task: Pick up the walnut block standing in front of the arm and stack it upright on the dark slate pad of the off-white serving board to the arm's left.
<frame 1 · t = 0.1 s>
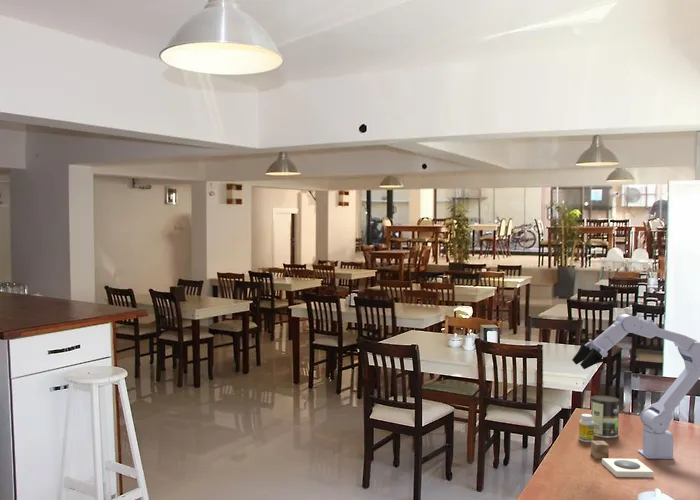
hand: (578, 364, 229), 32 cm above the table, tool tilted 50°, fingers open, 7 cm apart
walnut block: (599, 456, 229), on the table
base board: (626, 470, 216), on the table
supplement bottle: (586, 440, 247), on the table
coffee can: (604, 434, 255), on the table
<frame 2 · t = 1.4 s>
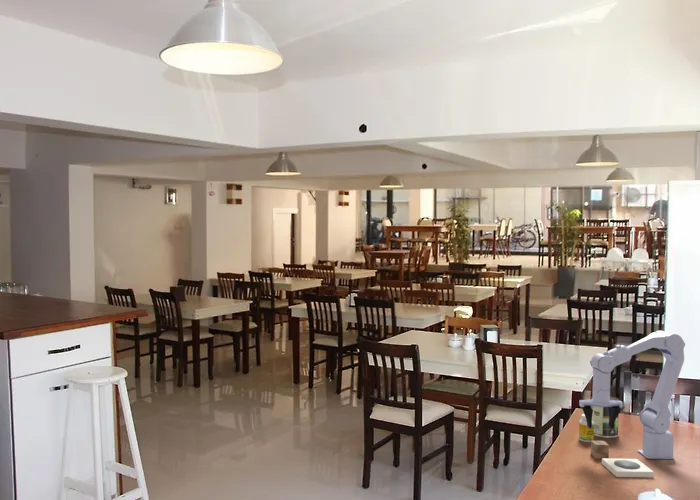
hand: (600, 427, 228), 10 cm above the table, tool pointing down, fingers open, 7 cm apart
nothing on the table moved.
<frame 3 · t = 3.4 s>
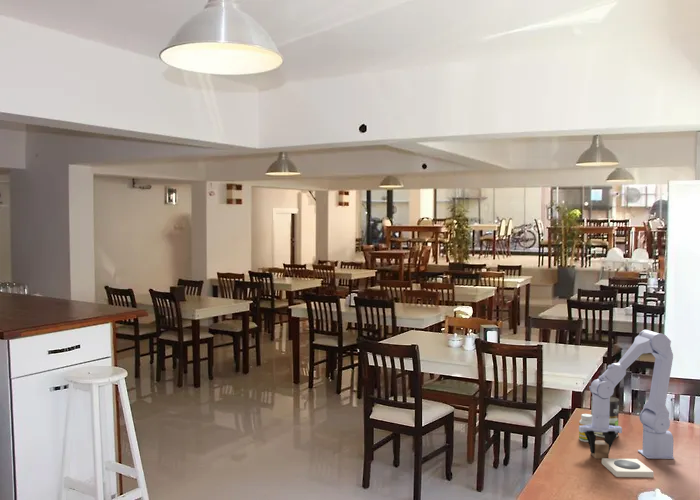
hand: (599, 452, 228), 1 cm above the table, tool pointing down, fingers closed on walnut block, 4 cm apart
walnut block: (599, 456, 228), on the table, touching gripper
everything else where it was.
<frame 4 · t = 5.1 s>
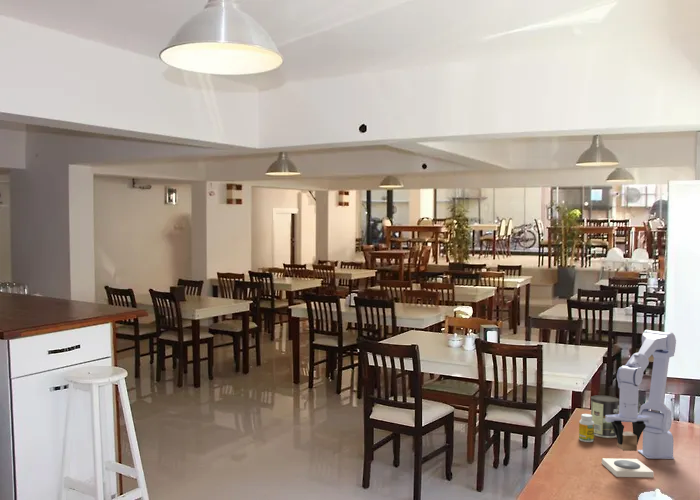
hand: (627, 443, 215), 9 cm above the table, tool pointing down, fingers closed on walnut block, 4 cm apart
walnut block: (626, 448, 216), point 7 cm above the table, touching gripper
everything else where it was.
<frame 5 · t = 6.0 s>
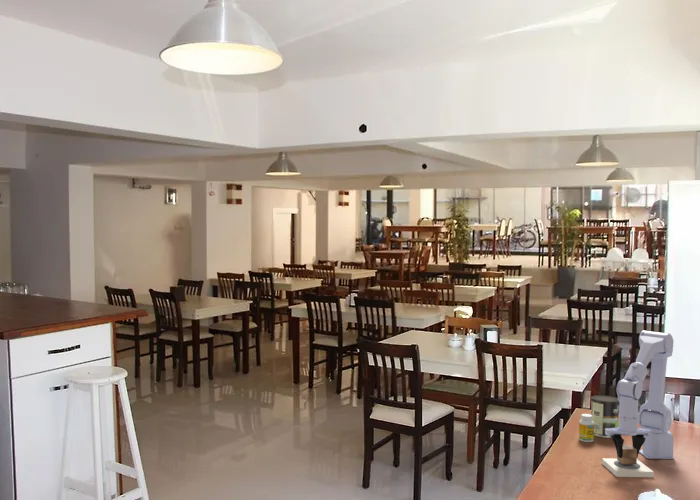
hand: (627, 457, 215), 4 cm above the table, tool pointing down, fingers closed on walnut block, 4 cm apart
walnut block: (626, 462, 216), point 3 cm above the table, touching gripper
everything else where it was.
when the fingers open (4 cm above the table, at t = 6.8 s): walnut block stays where it is, resting on base board.
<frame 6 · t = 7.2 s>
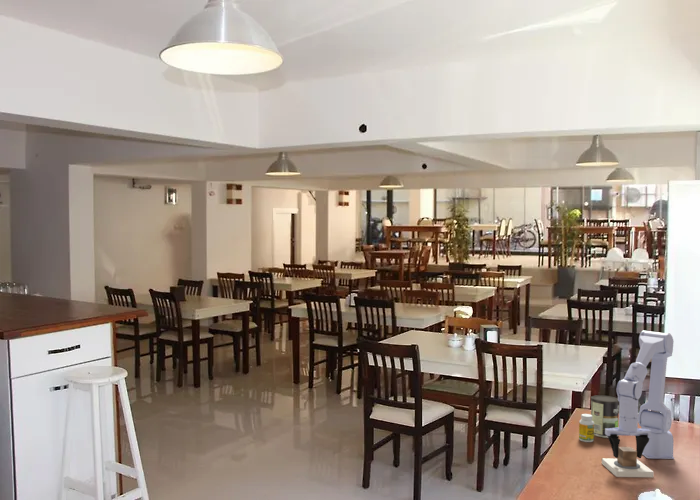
hand: (627, 457, 215), 4 cm above the table, tool pointing down, fingers open, 7 cm apart
walnut block: (626, 464, 216), point 2 cm above the table, touching base board
everything else where it was.
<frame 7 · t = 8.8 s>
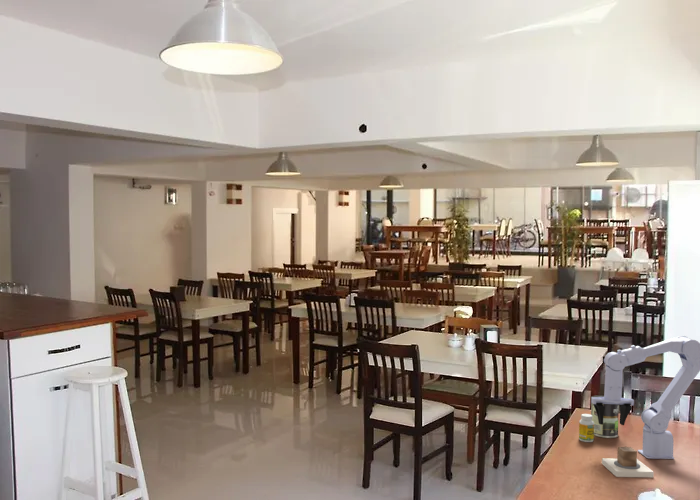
hand: (611, 424, 232), 10 cm above the table, tool pointing down, fingers open, 7 cm apart
nothing on the table moved.
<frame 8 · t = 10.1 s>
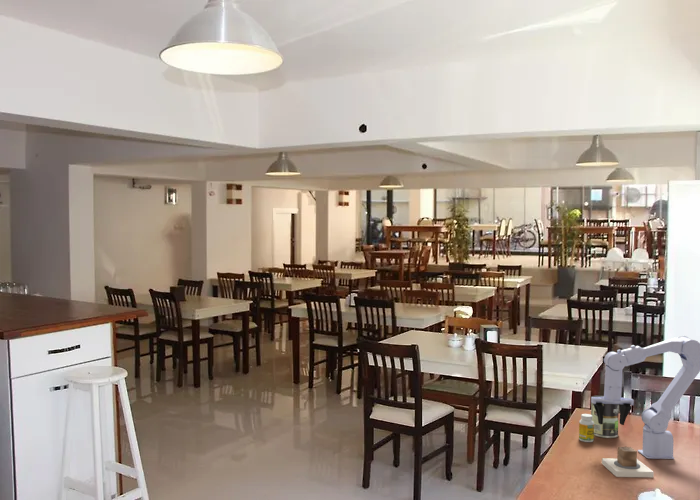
hand: (611, 423, 232), 10 cm above the table, tool pointing down, fingers open, 7 cm apart
nothing on the table moved.
at the end: walnut block inside the target area on the base board (0.3 cm from its centre), point 2.0 cm above the base board's base; walnut block tilted 0°; walnut block touching base board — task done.
